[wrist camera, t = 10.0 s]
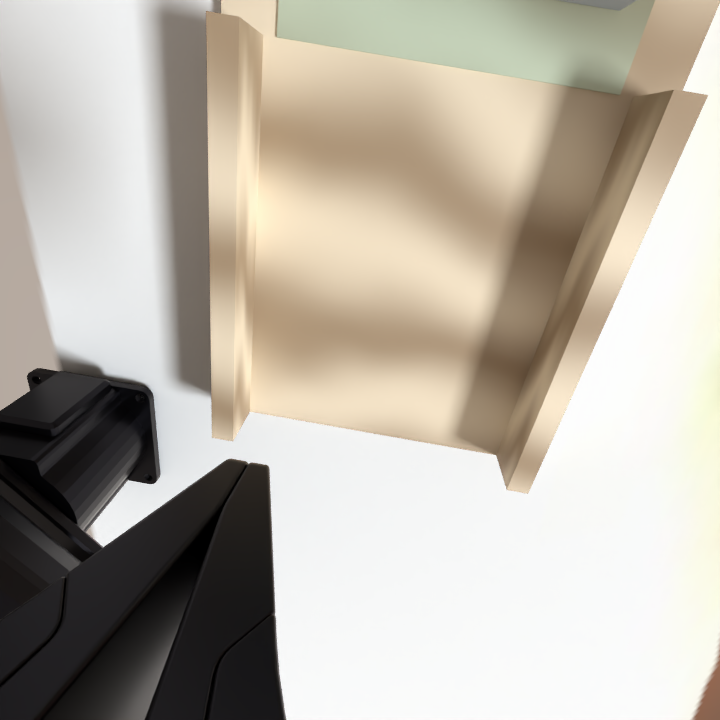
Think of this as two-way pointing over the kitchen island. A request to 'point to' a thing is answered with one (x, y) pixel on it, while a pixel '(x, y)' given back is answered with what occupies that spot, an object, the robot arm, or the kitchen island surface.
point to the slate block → (604, 3)
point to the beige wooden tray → (432, 206)
